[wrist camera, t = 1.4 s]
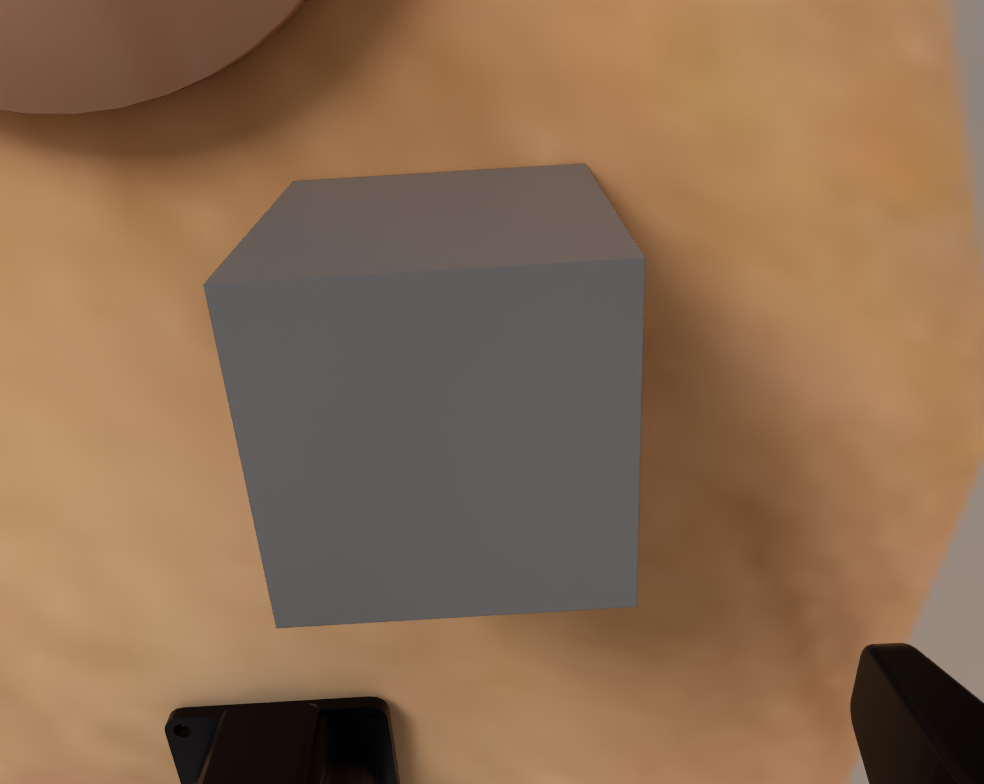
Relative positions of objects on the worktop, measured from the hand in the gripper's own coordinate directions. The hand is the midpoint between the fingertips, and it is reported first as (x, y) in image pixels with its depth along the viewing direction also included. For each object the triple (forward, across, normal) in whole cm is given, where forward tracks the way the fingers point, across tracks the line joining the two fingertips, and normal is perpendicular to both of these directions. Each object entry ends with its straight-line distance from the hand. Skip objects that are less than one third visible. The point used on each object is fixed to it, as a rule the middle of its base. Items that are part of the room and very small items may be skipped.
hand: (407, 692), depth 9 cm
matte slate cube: (+12, 0, +2) cm, 12 cm away
